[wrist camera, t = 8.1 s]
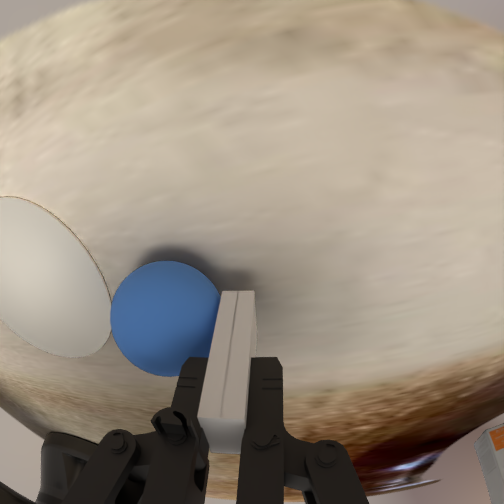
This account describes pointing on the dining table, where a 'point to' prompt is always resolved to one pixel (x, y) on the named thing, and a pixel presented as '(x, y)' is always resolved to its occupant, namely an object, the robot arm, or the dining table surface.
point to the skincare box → (492, 461)
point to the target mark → (50, 283)
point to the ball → (164, 316)
